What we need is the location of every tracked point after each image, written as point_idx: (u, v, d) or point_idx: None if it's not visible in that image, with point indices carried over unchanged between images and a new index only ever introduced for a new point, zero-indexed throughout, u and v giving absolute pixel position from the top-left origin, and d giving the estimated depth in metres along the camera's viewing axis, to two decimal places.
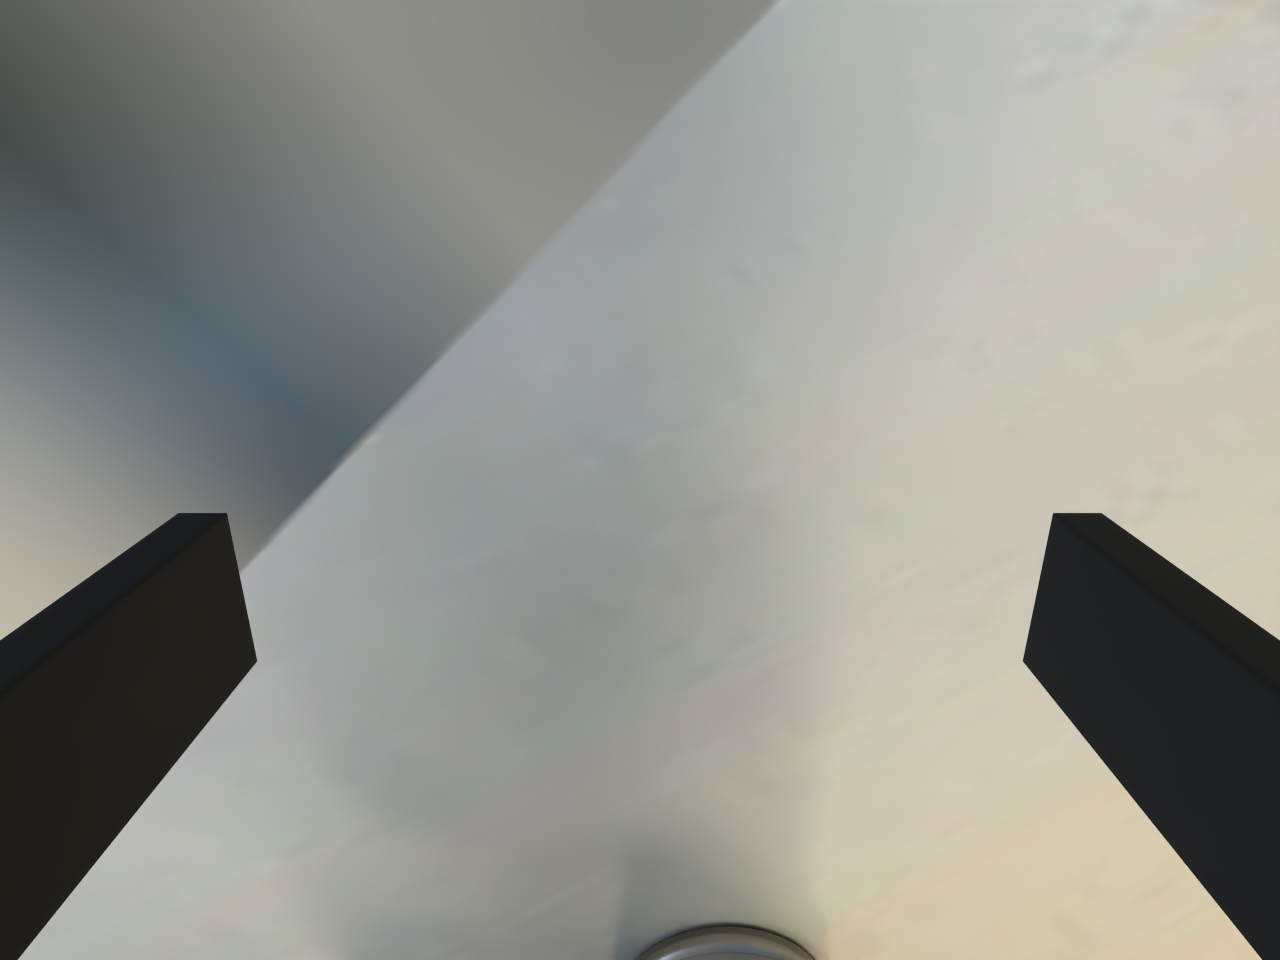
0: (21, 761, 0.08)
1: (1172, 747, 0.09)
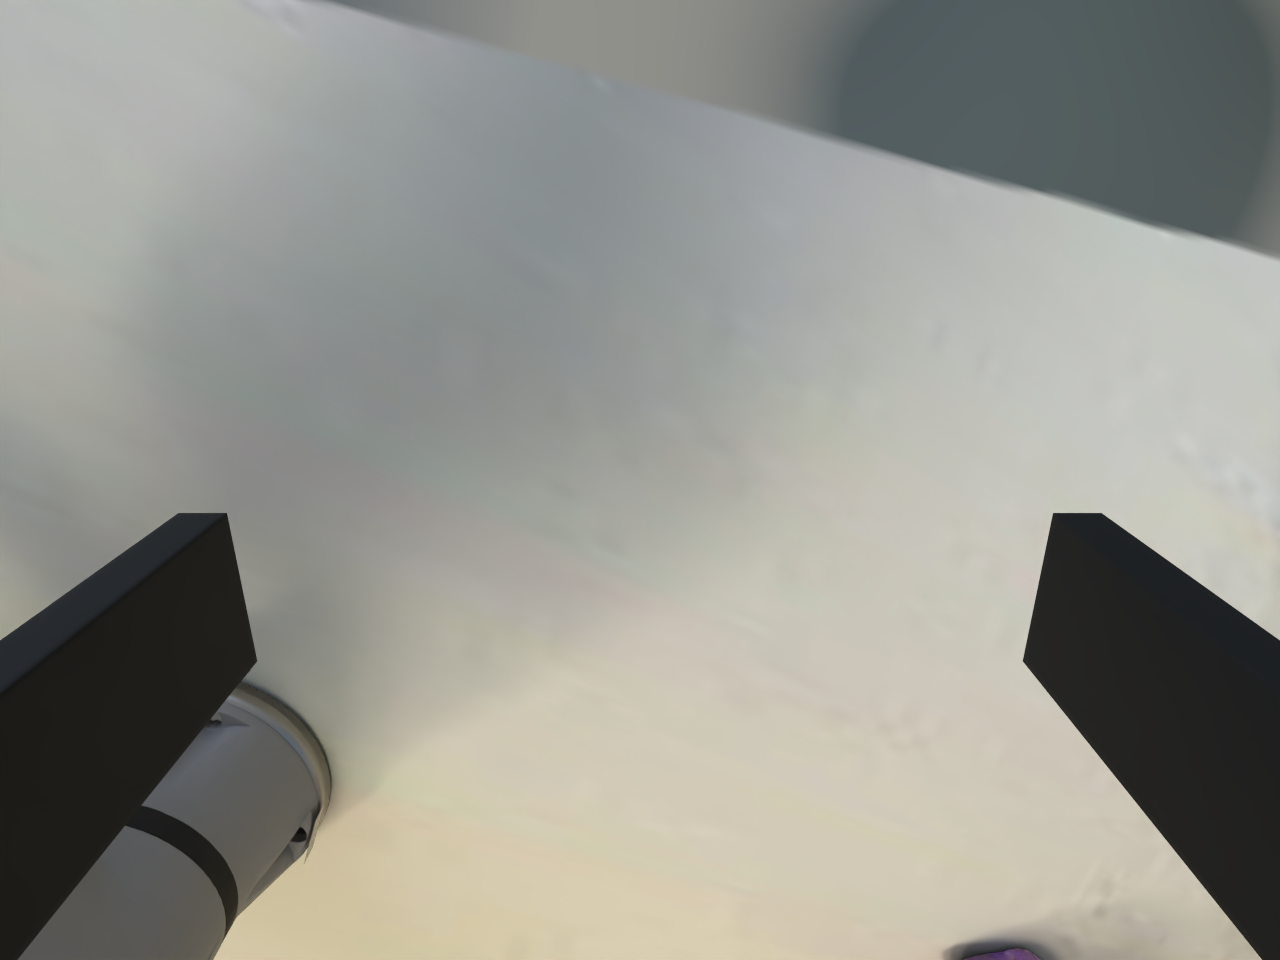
0: (21, 760, 0.08)
1: (1172, 747, 0.09)
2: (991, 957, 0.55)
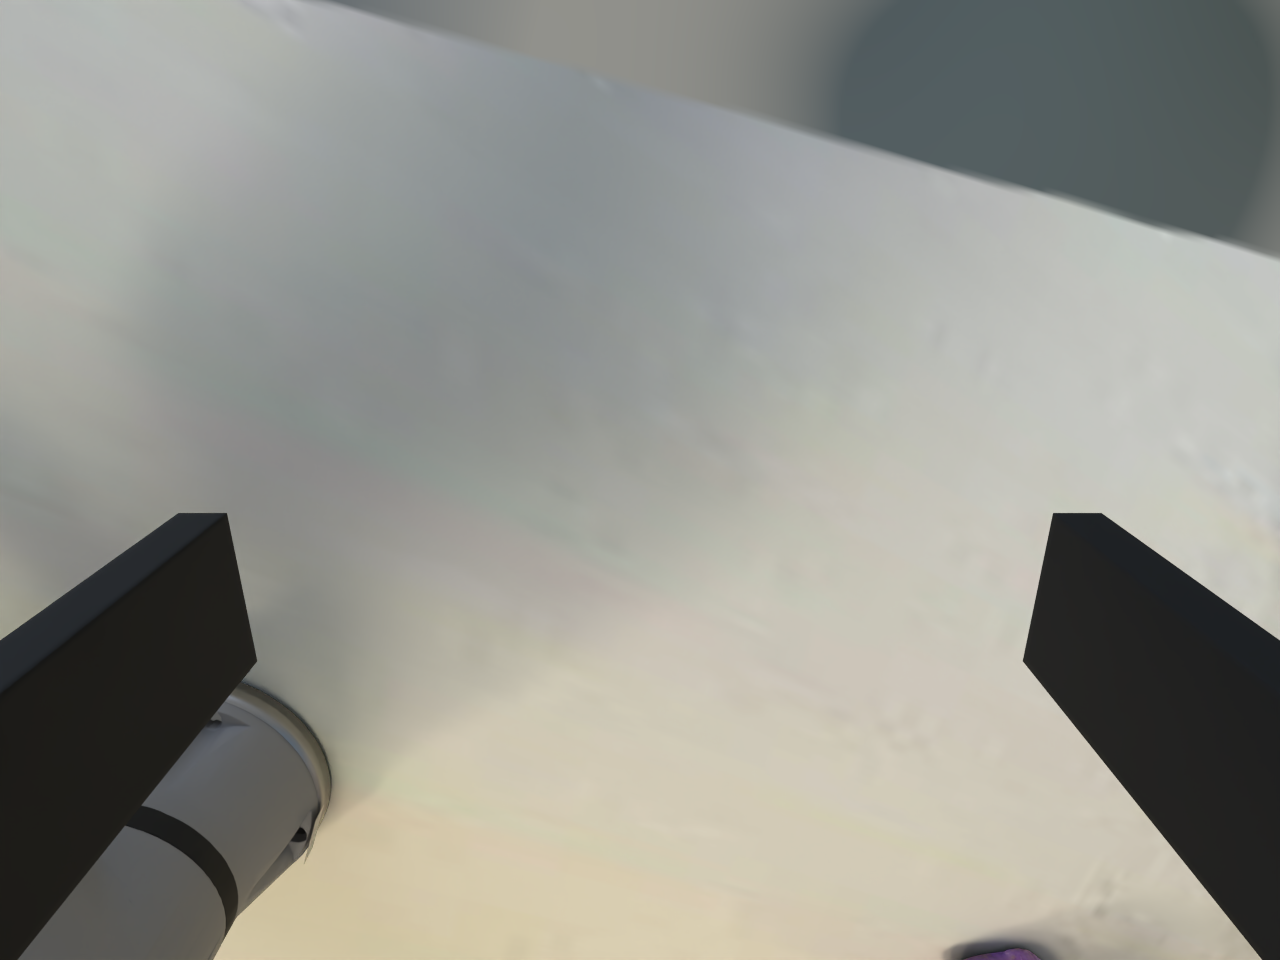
0: (21, 760, 0.08)
1: (1172, 747, 0.09)
2: (991, 957, 0.55)
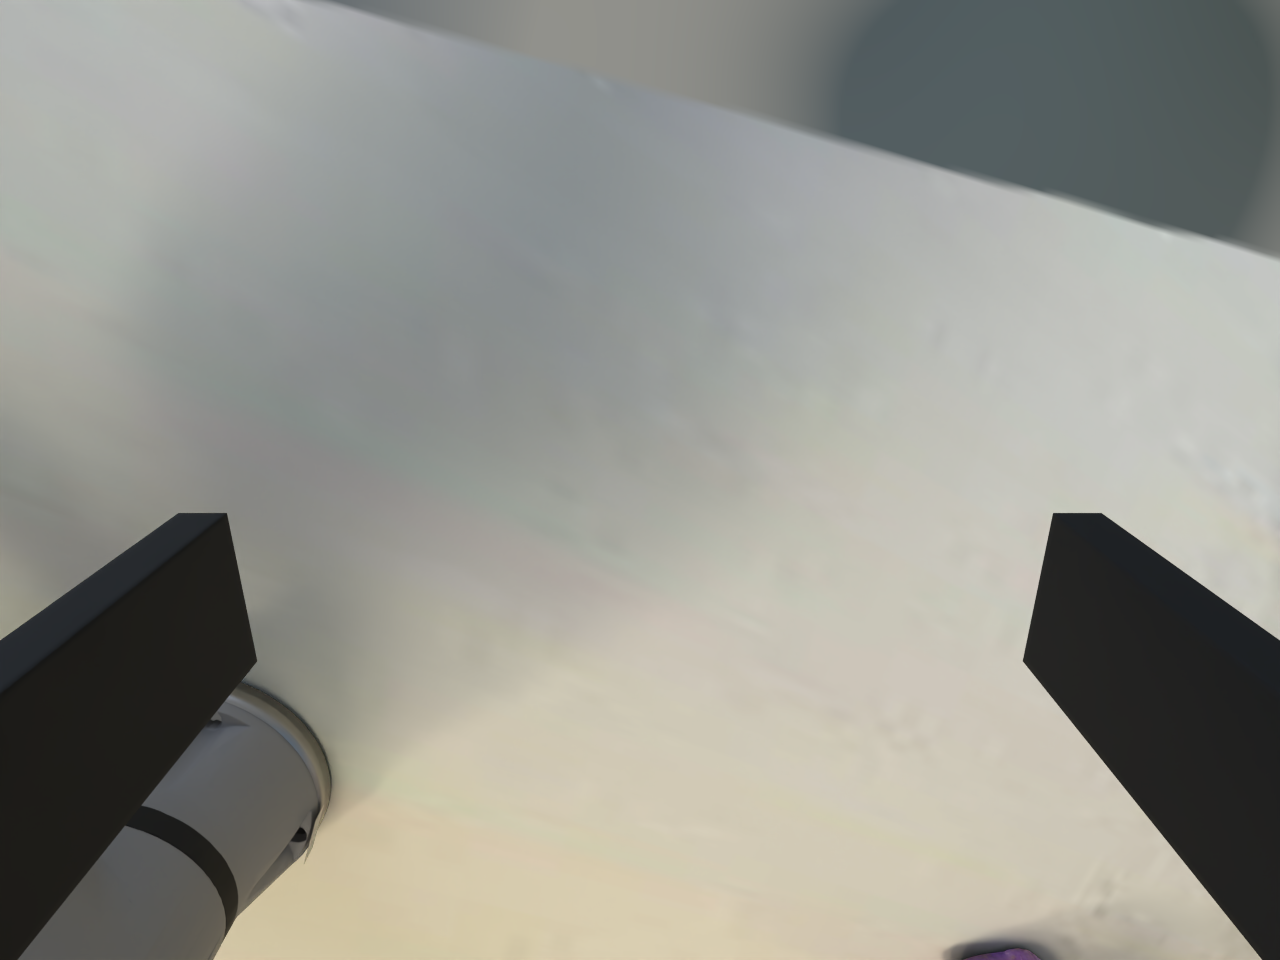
0: (21, 760, 0.08)
1: (1172, 747, 0.09)
2: (991, 957, 0.55)
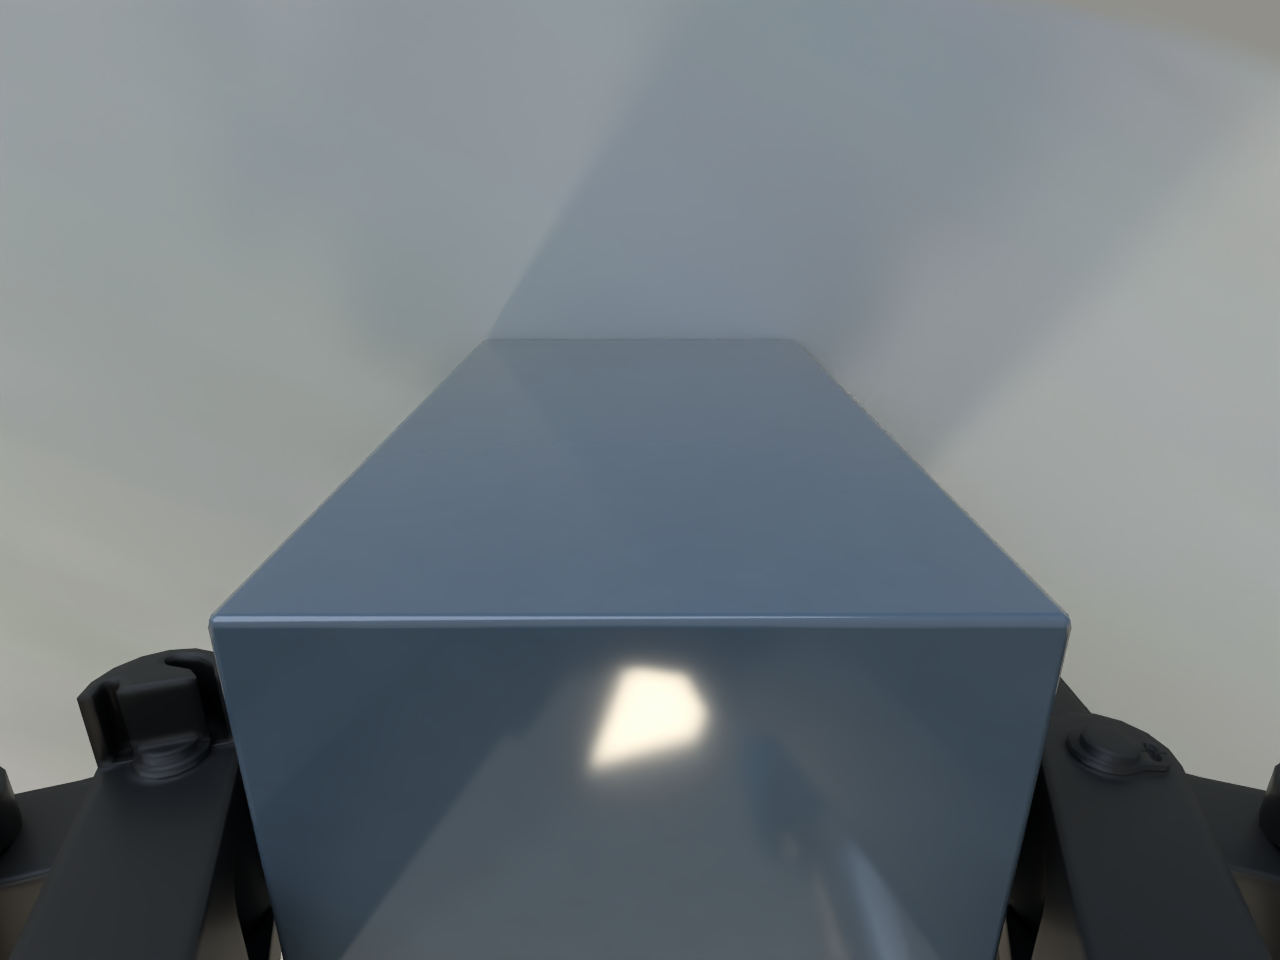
0: None
1: None
2: None
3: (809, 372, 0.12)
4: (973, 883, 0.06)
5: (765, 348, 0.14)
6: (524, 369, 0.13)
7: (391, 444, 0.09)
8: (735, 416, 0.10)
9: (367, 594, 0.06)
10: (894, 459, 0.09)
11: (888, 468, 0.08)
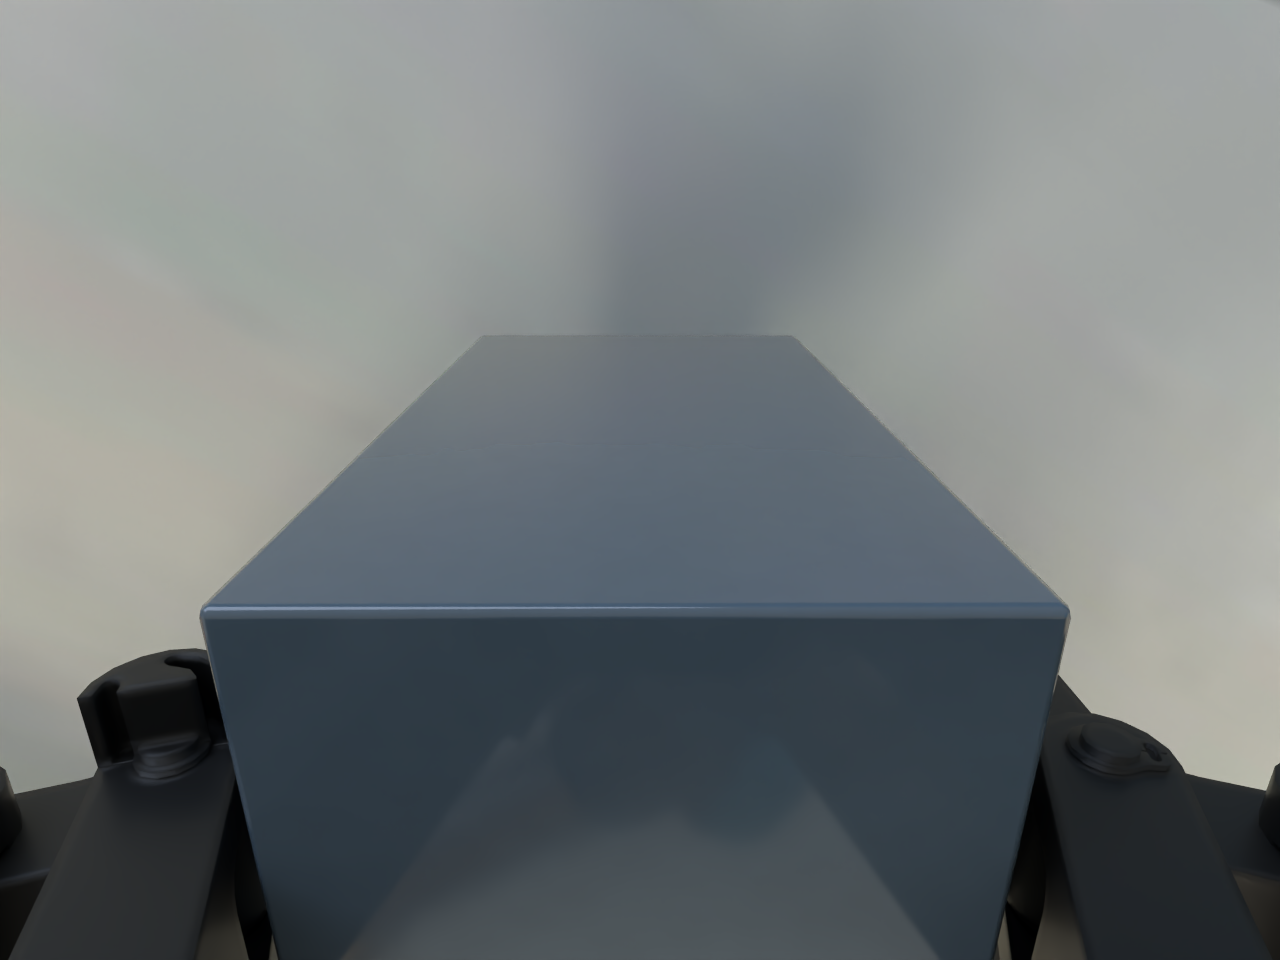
0: None
1: None
2: None
3: (808, 367, 0.12)
4: (971, 877, 0.06)
5: (764, 344, 0.14)
6: (522, 364, 0.13)
7: (387, 437, 0.09)
8: (733, 410, 0.10)
9: (360, 584, 0.06)
10: (893, 452, 0.08)
11: (886, 461, 0.08)
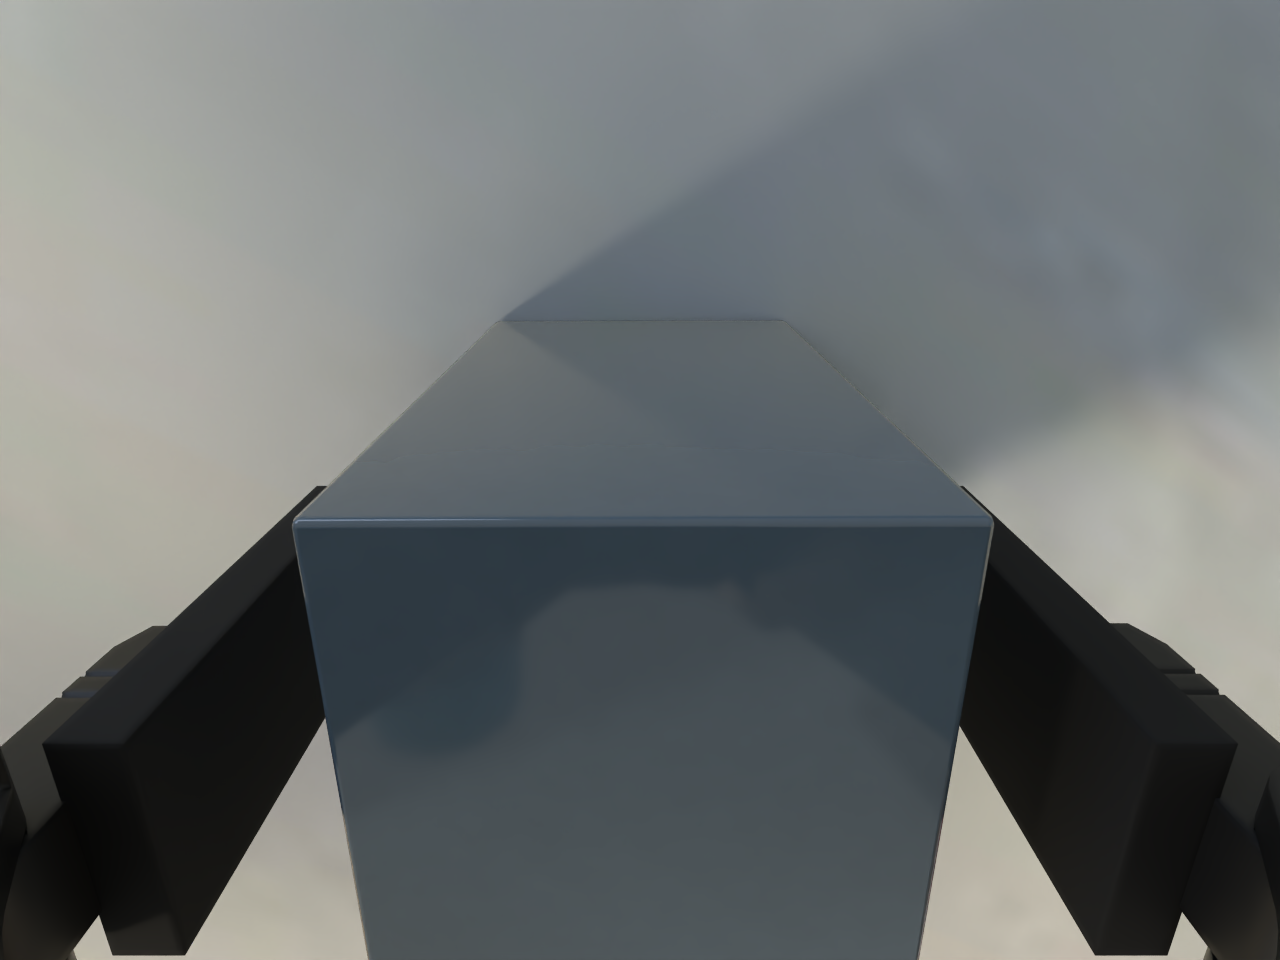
0: (239, 692, 0.09)
1: (990, 689, 0.10)
2: None
3: (795, 346, 0.14)
4: (921, 750, 0.08)
5: (756, 327, 0.16)
6: (536, 344, 0.14)
7: (423, 401, 0.10)
8: (727, 379, 0.11)
9: (418, 504, 0.07)
10: (863, 411, 0.10)
11: (857, 418, 0.09)
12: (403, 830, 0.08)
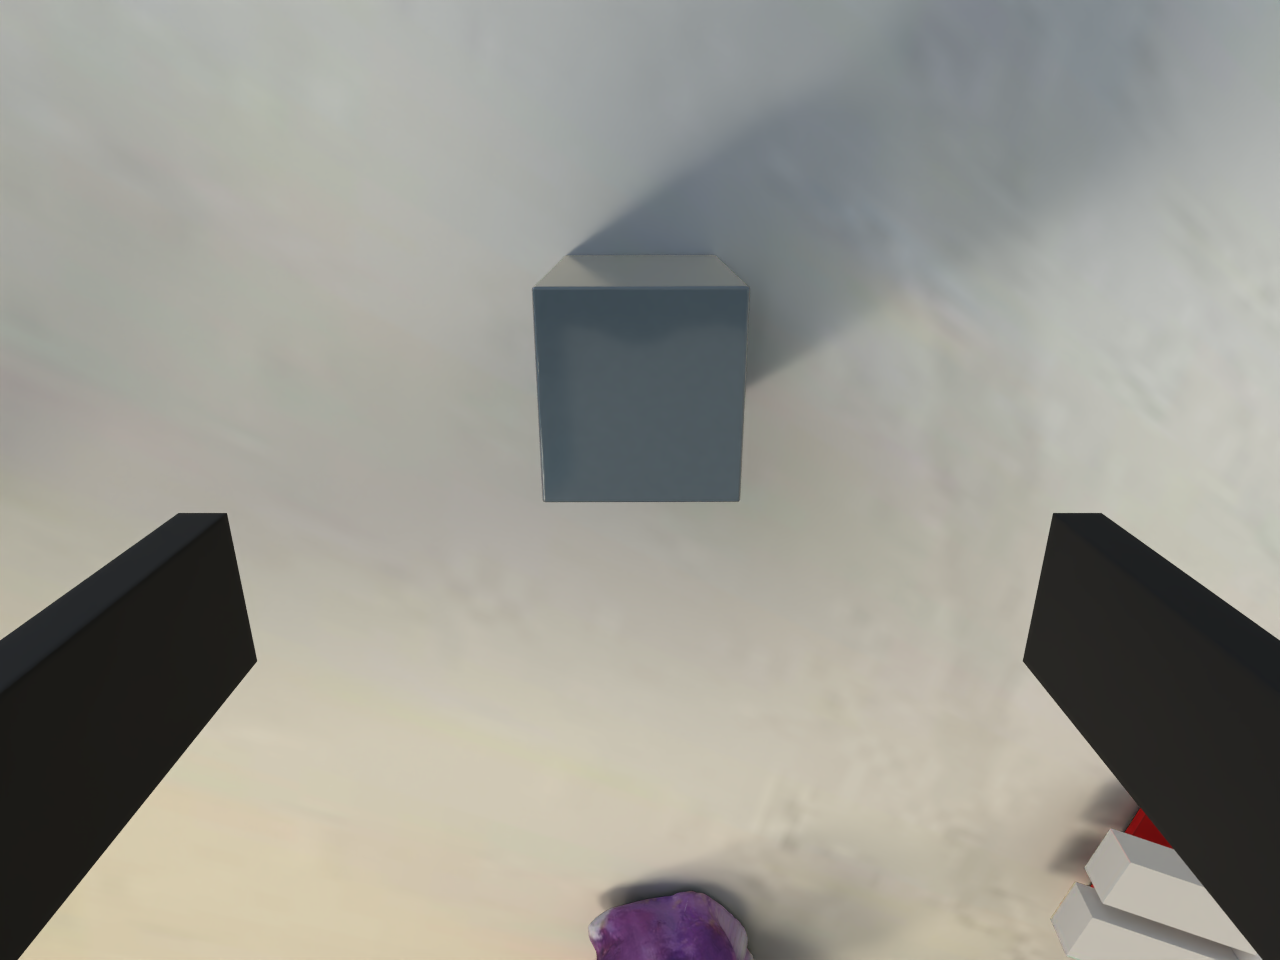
0: (20, 761, 0.08)
1: (1172, 747, 0.09)
2: (653, 902, 0.43)
3: (714, 261, 0.29)
4: (733, 372, 0.23)
5: (699, 256, 0.31)
6: (590, 260, 0.29)
7: (552, 272, 0.25)
8: (677, 268, 0.26)
9: (569, 285, 0.22)
10: (728, 273, 0.25)
11: (724, 274, 0.25)
12: (559, 406, 0.23)
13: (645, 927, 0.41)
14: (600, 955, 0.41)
